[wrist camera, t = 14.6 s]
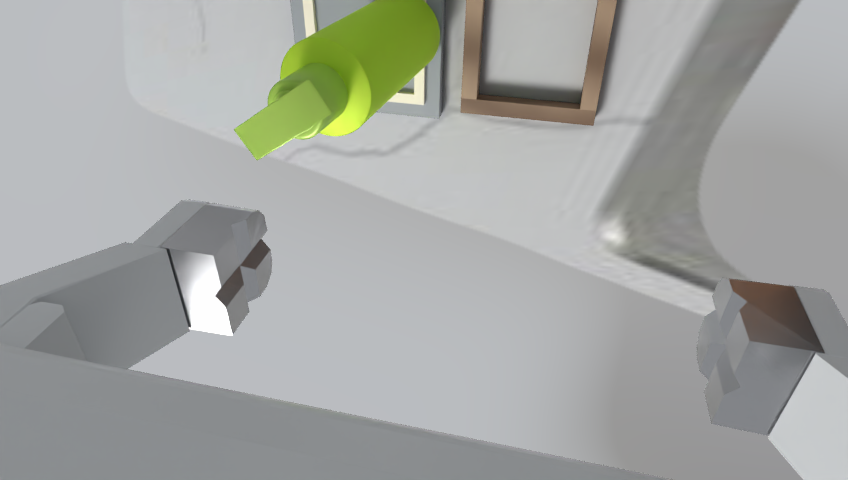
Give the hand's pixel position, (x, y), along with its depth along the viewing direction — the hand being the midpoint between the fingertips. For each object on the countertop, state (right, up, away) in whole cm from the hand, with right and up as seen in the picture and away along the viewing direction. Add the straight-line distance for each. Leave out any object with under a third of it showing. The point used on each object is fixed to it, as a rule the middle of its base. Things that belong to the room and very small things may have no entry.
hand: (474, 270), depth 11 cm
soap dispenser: (-2, +17, +34) cm, 37 cm away
